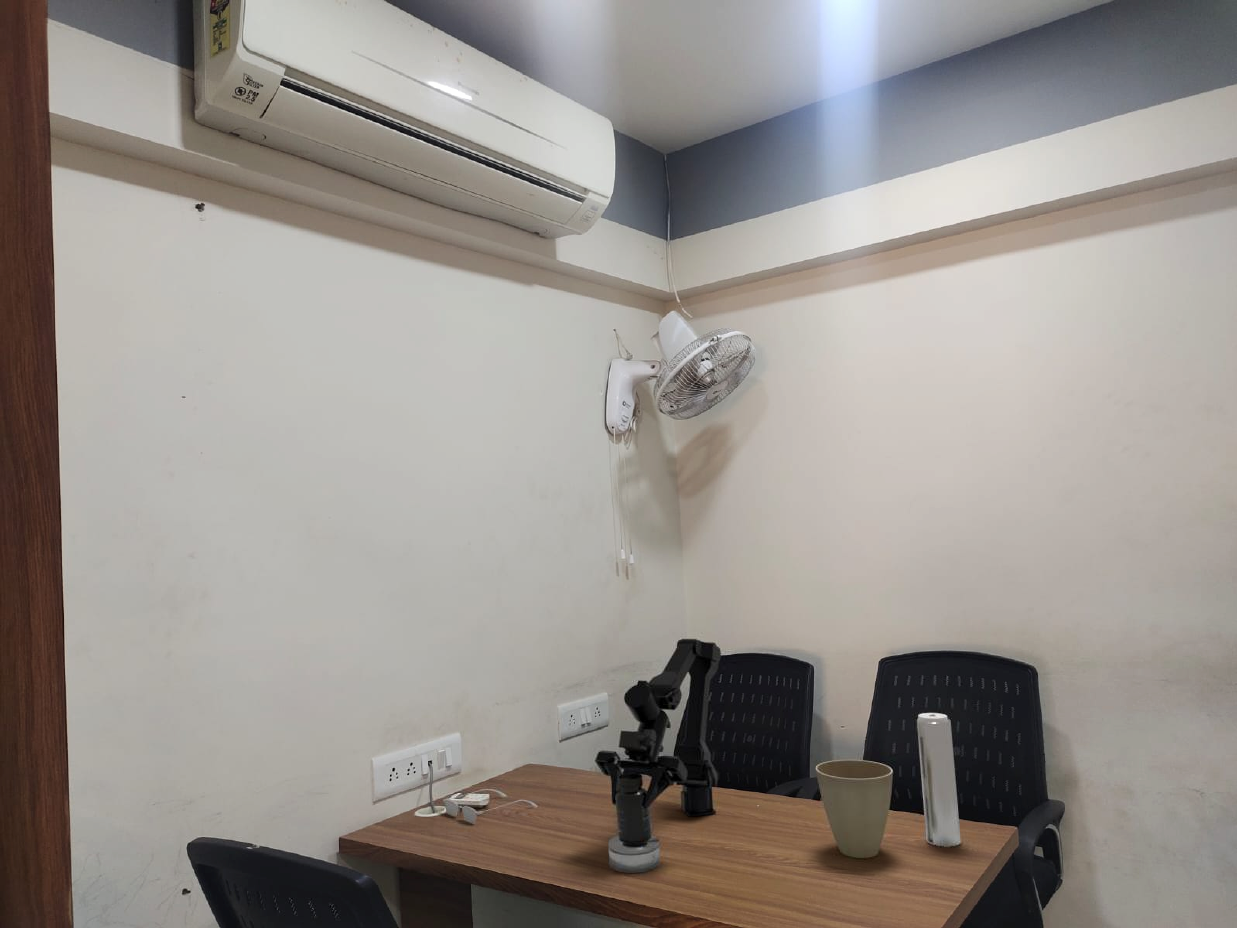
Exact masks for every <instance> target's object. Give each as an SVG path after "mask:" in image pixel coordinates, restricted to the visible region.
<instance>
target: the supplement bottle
mask: <svg viewBox="0 0 1237 928" xmlns="http://www.w3.org/2000/svg"><path fill="white" fill-rule="evenodd" d="M618 780H619V788H620V790H619V791H618V792H617V793H616V795H615V804H616V805H615V812H616V813H615V814H616V826H617V836H618V837H619V840H620V841H621V842H623V843H627V844H638V843H643V842H646V841H648V840H650V839H651V837H652V835H653V826H652V814H651V813H652V812H651V805H650V806H649V807H648V808H647V809H646V808H645V807H644V801H645V797H646V794H647V791H648V789H646V788H644V787H643V786H644V781H643V774H641V773H635V772H631V773H623V775H621V776H619V778H618Z"/></svg>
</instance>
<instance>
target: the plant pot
mask: <svg viewBox="0 0 1237 928" xmlns="http://www.w3.org/2000/svg"><path fill="white" fill-rule="evenodd" d="M893 770H894V769H892V768H891V767H890V766H889V765H887V764H884V763H880V762H876V761H870V760H863V759H862V760H861V759H836V760H830V761H825V762H821V763H818V764H817V765H816V766H815V773H816V777H817V781H818V787H819V793H820V796H821V800H822V804H823V807H824V810H825V814H826V817H827V820H828V824H829V827H830V829H831V832H832V835H833V838H834V840H835V843H836V845H837V847H838V849H839V851H840V853H841V854H843V856H844V855H845V856H847V857H850V858H856V859H868V858H872V857H873V858H874V857H875V856H877V855H878V854H879V851H880V849H881V845H882V842H883V839H884V834H885V830H886V825H887V822H888V816H889V813H890V806H891V799H892V788H893V774H894V771H893Z"/></svg>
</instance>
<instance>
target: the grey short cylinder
mask: <svg viewBox="0 0 1237 928" xmlns="http://www.w3.org/2000/svg"><path fill="white" fill-rule="evenodd" d="M607 844H608V862H609V867H610V868H611V869H612V870H614V871H617V872H621V873H628V874H632V873H633V874H635V873H643V872H644V873H645V872H648V871H651V870H654V869H656V868H658V867H659V865H660V864H661V856H660V855H661V854H660V852H661V851H660V840H659V838H658V837H657V836H656V835H653V834H652V837H651V839H650V840H648V841H646V842H643V843H638V844H627V843H623V842H621V841H620V840H619V837H618V835H617V836H614V837H612V838H611V839H609V841H608V843H607Z"/></svg>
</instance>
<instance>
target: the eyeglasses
mask: <svg viewBox="0 0 1237 928" xmlns="http://www.w3.org/2000/svg"><path fill="white" fill-rule="evenodd" d="M482 791H493V792H495V793H496V794H499V797H501V798H506V797H508V795H506V794H505V793H503V792H502V791H499V790H496V789H492V788H491V789H490V788H484V789H479V790H476V791H473V792H469V793H465V794H462V795H458V796H455V797H452V798H449V797H448V798H445V799H443V803H444V806H445V810H446V814H447V815H449V816H452V817H455V818H457V817H458V816H457V815H458V813H459V812H460V809H461V811H462V812H461V813H462V816H463V819H464V821H465V822H467V823H469V824H472V825H475V823H476V820H477V815H482V814H483V813H484V812H488V811H490V810H495V809H498V808H502V807H505V806H508V805H512V804H516V803H518V802H526V803H528V804H529V805H530V806H531V807H532V808H533V809H535V808H538V805H537V804H536V803H534V802H532V801H530V800H525V799H518V800H515V801H513V802H510V803H507V804H503V805H501V806H497V807H494V808H493V807H492V808H490V809H487V810H480V811H476V810H475V808H473V807H470V806H468V805H467V806H466V805H463V806H461V805H458V804H457V802H455V801H453V800H454V799H456V798H459V797H462V796H466V795H470V794H473V793H477V792H482ZM452 799H453V800H452Z"/></svg>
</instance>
